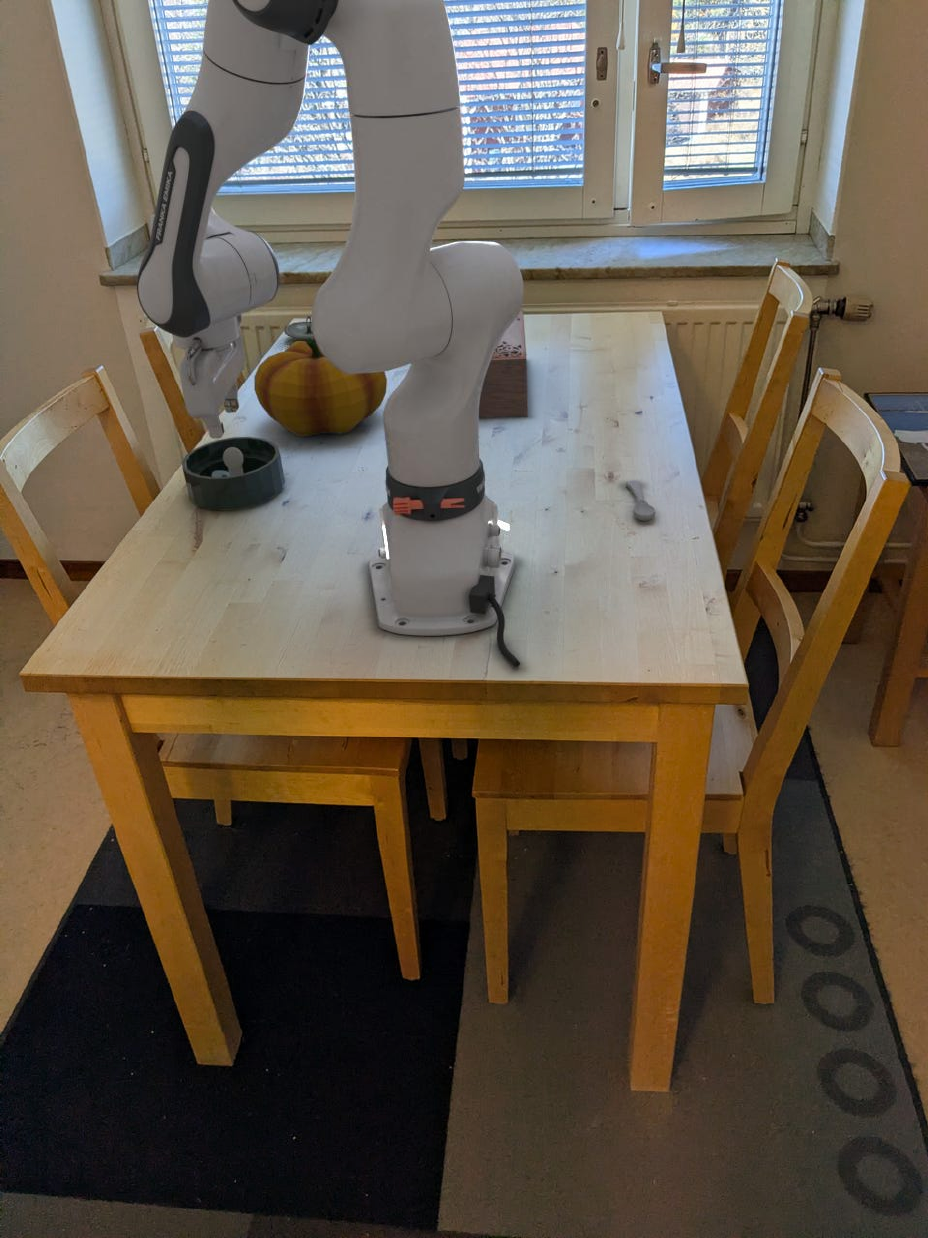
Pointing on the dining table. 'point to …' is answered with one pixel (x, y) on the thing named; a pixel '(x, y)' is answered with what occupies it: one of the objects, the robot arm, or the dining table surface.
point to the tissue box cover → (507, 376)
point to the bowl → (238, 490)
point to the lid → (300, 330)
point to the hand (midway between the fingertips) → (225, 423)
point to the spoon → (640, 503)
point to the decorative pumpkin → (315, 391)
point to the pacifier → (231, 463)
